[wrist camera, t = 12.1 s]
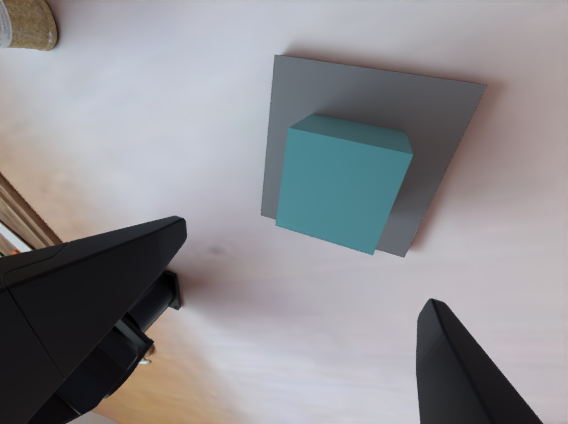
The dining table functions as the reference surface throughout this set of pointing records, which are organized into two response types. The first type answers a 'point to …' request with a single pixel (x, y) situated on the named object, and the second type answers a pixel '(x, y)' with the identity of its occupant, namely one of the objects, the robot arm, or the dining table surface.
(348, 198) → the teal cube
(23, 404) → the robot arm
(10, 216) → the chopping board
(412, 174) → the thin grey square panel
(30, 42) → the sprinkles bottle
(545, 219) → the dining table surface
